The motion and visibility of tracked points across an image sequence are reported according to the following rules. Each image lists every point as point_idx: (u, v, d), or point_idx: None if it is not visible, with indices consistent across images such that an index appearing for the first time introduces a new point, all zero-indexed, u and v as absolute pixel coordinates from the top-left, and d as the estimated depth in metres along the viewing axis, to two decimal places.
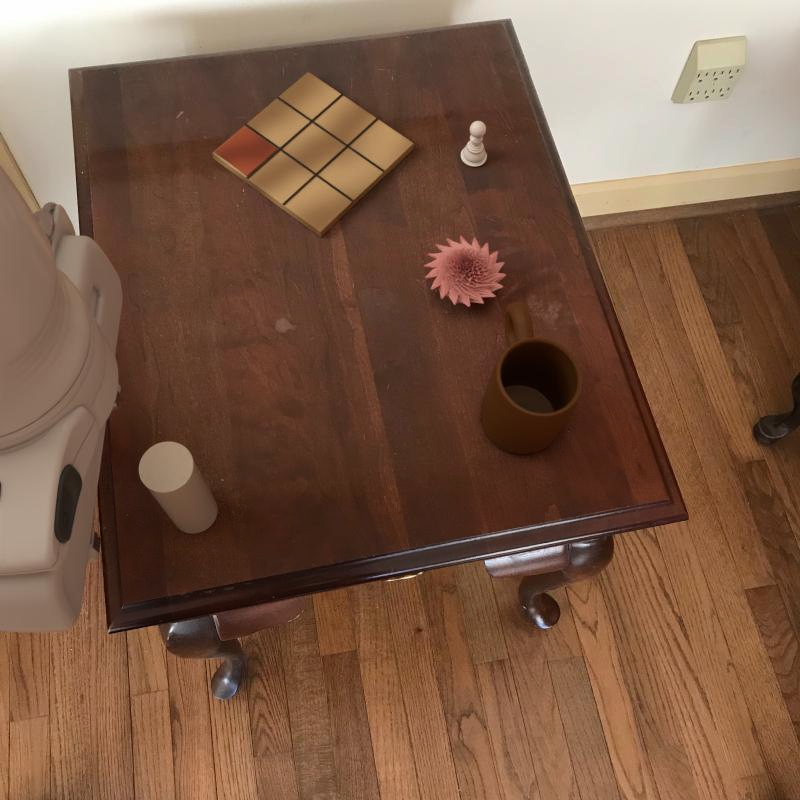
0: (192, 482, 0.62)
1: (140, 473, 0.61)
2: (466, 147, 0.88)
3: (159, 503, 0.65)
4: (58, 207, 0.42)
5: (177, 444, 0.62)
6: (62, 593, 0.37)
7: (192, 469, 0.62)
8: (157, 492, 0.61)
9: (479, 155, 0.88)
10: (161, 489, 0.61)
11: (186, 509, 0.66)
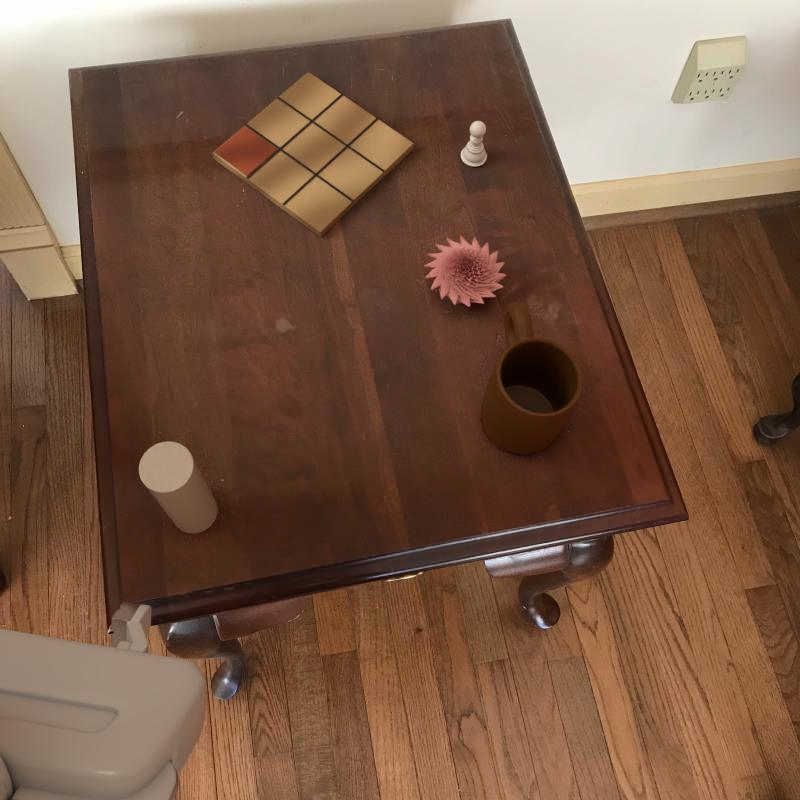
0: (192, 482, 0.62)
1: (140, 473, 0.61)
2: (466, 147, 0.88)
3: (159, 503, 0.65)
4: None
5: (177, 444, 0.62)
6: None
7: (192, 469, 0.62)
8: (157, 492, 0.61)
9: (479, 155, 0.88)
10: (161, 489, 0.61)
11: (186, 509, 0.66)
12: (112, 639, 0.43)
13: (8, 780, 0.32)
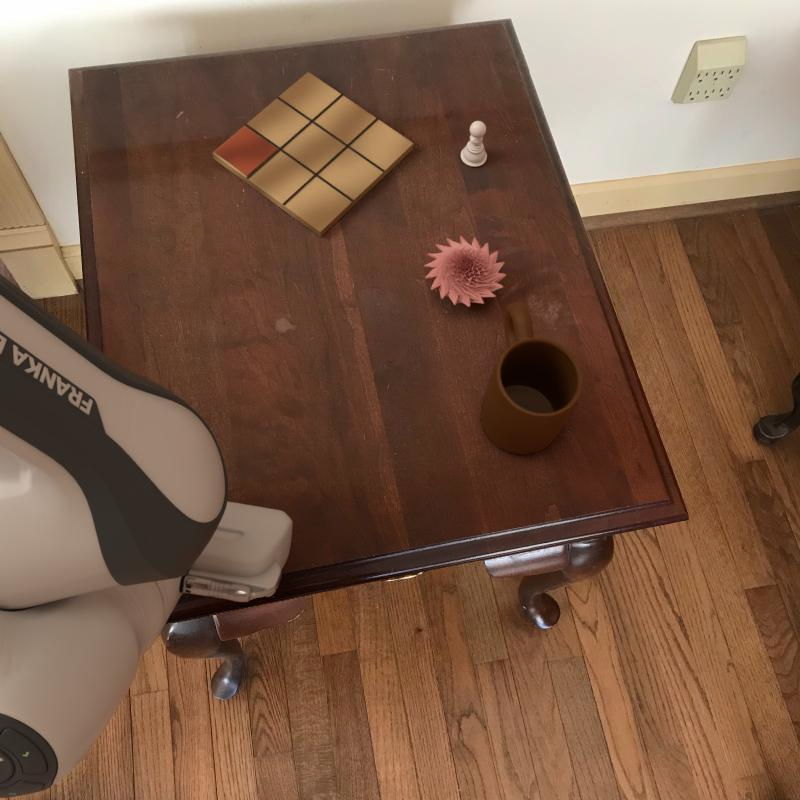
0: None
1: None
2: (466, 147, 0.88)
3: None
4: (266, 596, 0.55)
5: None
6: None
7: None
8: None
9: (479, 155, 0.88)
10: None
11: None
12: None
13: None
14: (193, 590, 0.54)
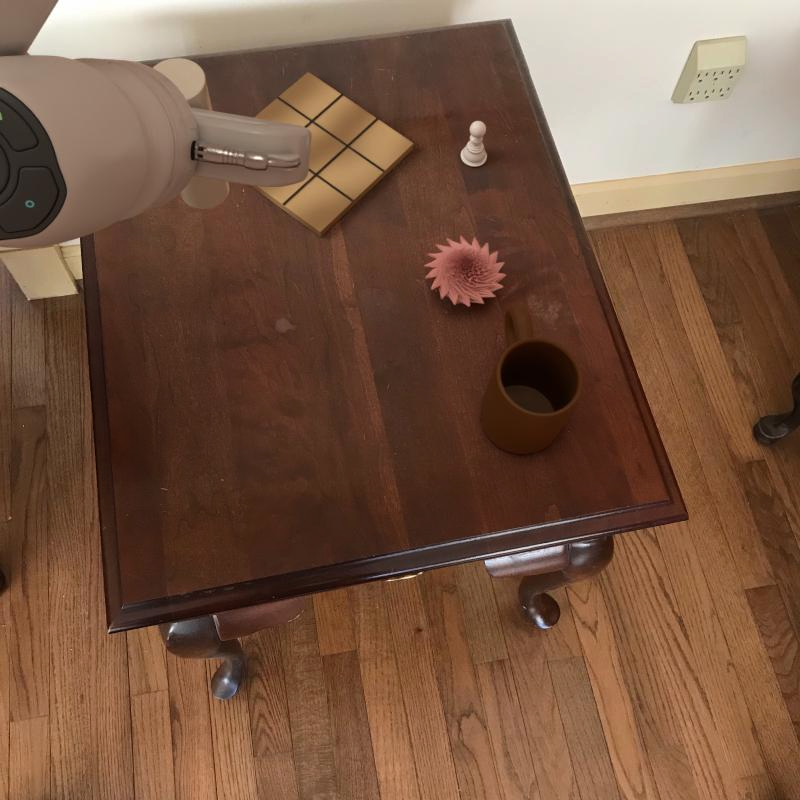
0: (204, 102, 0.58)
1: None
2: (466, 147, 0.88)
3: None
4: (284, 170, 0.51)
5: (188, 60, 0.58)
6: None
7: (204, 83, 0.57)
8: None
9: (479, 155, 0.88)
10: None
11: None
12: None
13: (197, 133, 0.51)
14: (205, 154, 0.50)
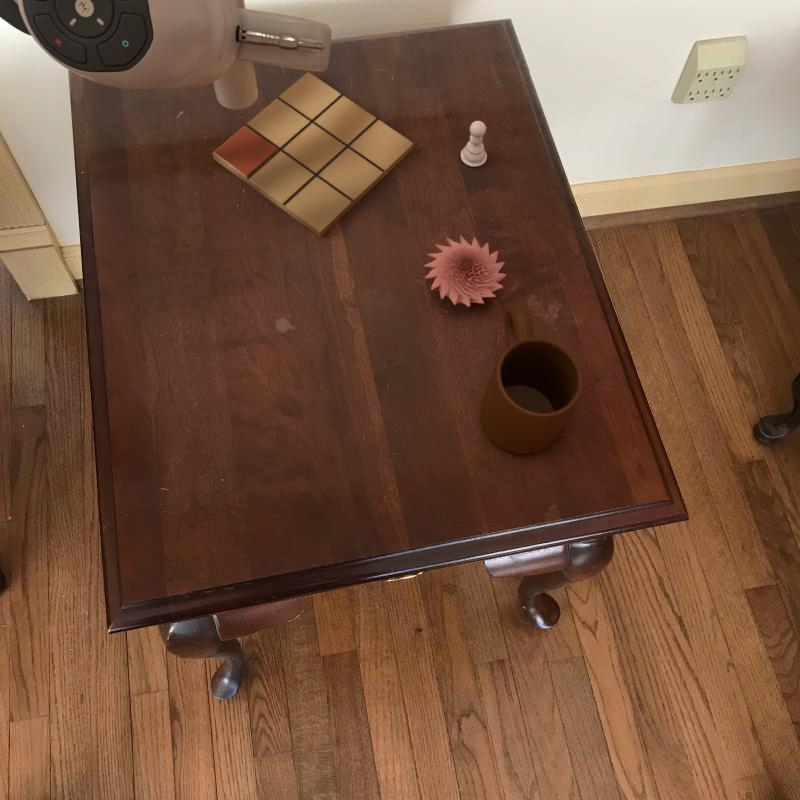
0: (241, 7, 0.70)
1: None
2: (466, 147, 0.88)
3: None
4: (311, 50, 0.62)
5: None
6: None
7: None
8: None
9: (479, 155, 0.88)
10: None
11: None
12: None
13: (240, 20, 0.62)
14: (248, 36, 0.61)
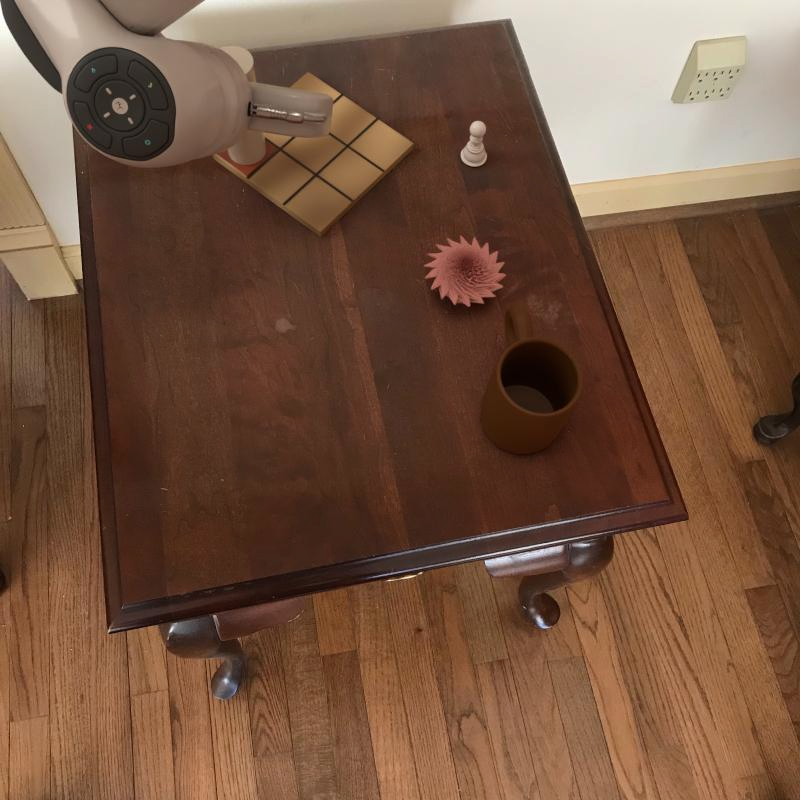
0: (252, 79, 0.77)
1: None
2: (466, 147, 0.88)
3: None
4: (315, 123, 0.69)
5: (240, 47, 0.77)
6: None
7: (252, 64, 0.76)
8: None
9: (479, 155, 0.88)
10: None
11: None
12: None
13: (251, 96, 0.69)
14: (258, 111, 0.68)
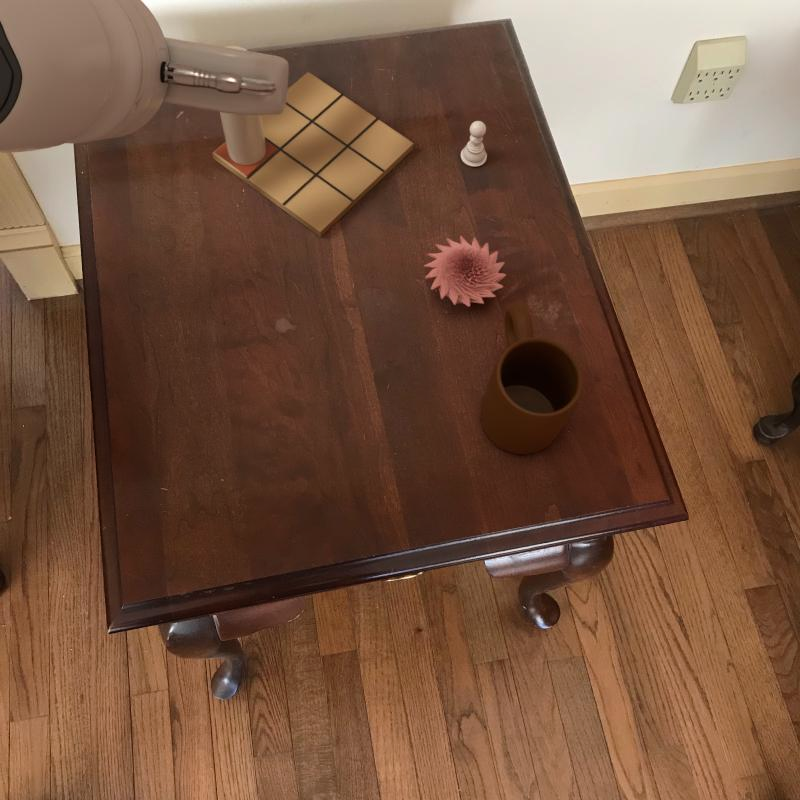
0: None
1: None
2: (466, 147, 0.88)
3: None
4: (258, 94, 0.49)
5: (240, 47, 0.77)
6: None
7: None
8: None
9: (479, 155, 0.88)
10: None
11: (245, 116, 0.80)
12: None
13: (167, 54, 0.49)
14: (176, 75, 0.48)
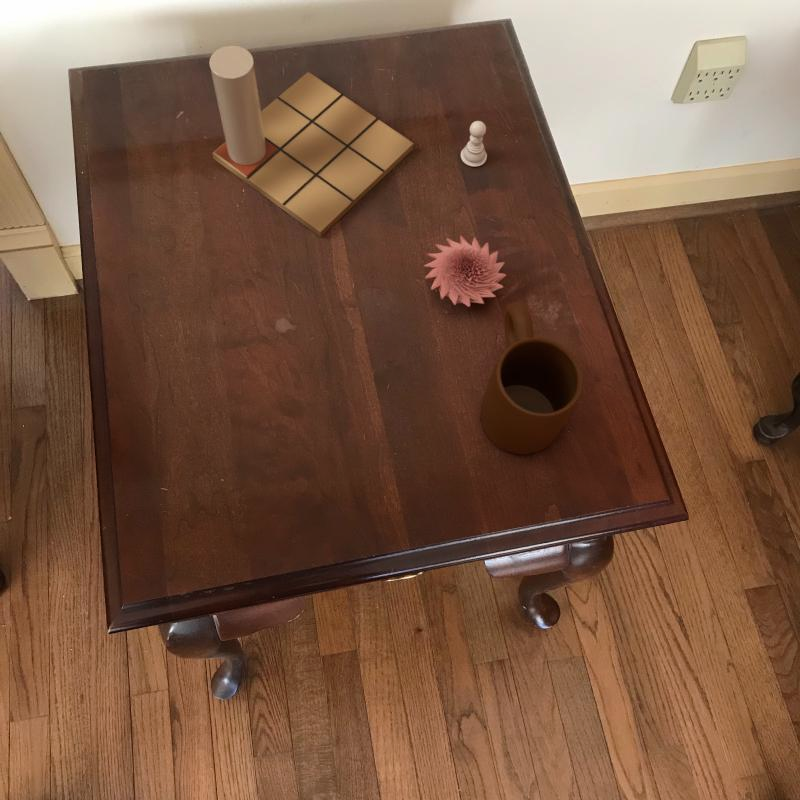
0: (252, 79, 0.77)
1: (211, 65, 0.76)
2: (466, 147, 0.88)
3: (223, 108, 0.79)
4: None
5: (240, 47, 0.77)
6: None
7: (252, 64, 0.76)
8: (225, 79, 0.76)
9: (479, 155, 0.88)
10: (228, 76, 0.75)
11: (245, 116, 0.80)
12: None
13: None
14: None
